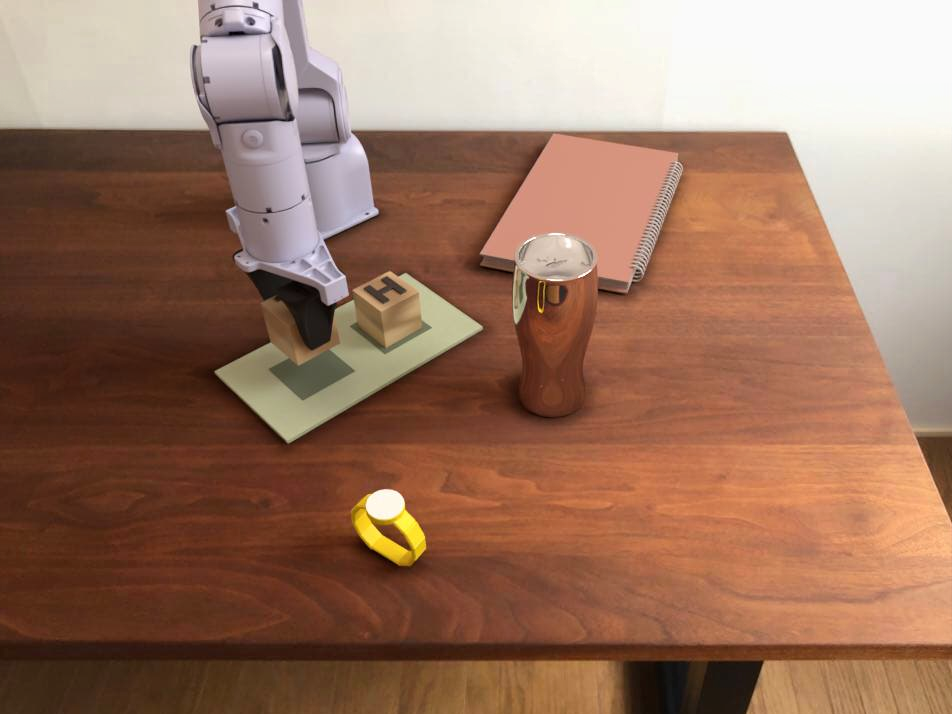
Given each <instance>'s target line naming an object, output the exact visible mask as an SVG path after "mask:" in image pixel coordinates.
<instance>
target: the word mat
mask: <svg viewBox="0 0 952 714" xmlns="http://www.w3.org/2000/svg"><path fill="white" fill-rule="evenodd" d="M398 277H399V278H401V279H402V280H403V281H405V282H406V283H408V284H409V285H410V286H412V287H413V288H415V289H416V290H418V291H419V299H420V309H421V318H422V328H421V329H419V330H418V331H416V332H414V333H412V334H410V335H409V336H407V337H405V338H403V339H402V340H400V341H398V342H396V343H394V344H393V345H391V346H389V347H387V348H385V347H384V346H382V345H381V344H380V343H379V342H377V341H376V340H375V339H374V338H372V337H371V336H370V335H368V334H367V333H366V332H365V331H363V330H362V329H361V328H359V327H358V322H357V316H356V310H355V304H354V299H352V300H350V301H348V302H346V303H344V304H342V305H340V306H338V307H337V308H335V312H334V313H335V318H336V324H337V329H338V334H339V339H340V344H338V345H336V346H334V347H333V348H331V349H329V350H327V351H325V352H323V353H321V354H320V355H318V356H316V357H314V358H312V359H310V360H308V361H306V362H305V363H303V364H301V365H299V366H298V365H296V364H295V363H294V362H293V361H292V360H291V359H290V358H288V357H287V356H286V355H285V354H284V353H283V352H281V351H280V350H279V349H278V348H277V347H276V346H275V345H273V344H272V343H271V342H270V341H269V343H267V344H264V345H263V346H260V347H258V348H257V349H255V350H253V351H251V352H249V353H246V354H245V355H243V356H242V357H240V358H239V357H238V358H237V359H235V360H234V361H232V362H230V363H228V364H226V365H224V366H222V367H220V368H218V369H216V370H214V375H216V377H217V378H219V380H220V381H221V382H222V383H224V384H225V385H226V386H227V387H228V388H229V389H230V390H231V391H232V392H233V393H234V394H235V395H236V396H237V397H238V398H239V399H240V400H241V401H243V403H245V404H246V406H247V407H249V408H250V409H251V410H252V411H253V413H255V414H256V415H257V416H258V417H259V418H260V419H261V420H262V421H263V422H264V423H265V424H266V425H267V426H268V427H270V428H271V429H272V430H273V432H275V433H276V435H278V436H279V437H280V438H281V439H282V440H283V441H284V442H285V443H286V444H290V443H292V442H294V441H295V440H297V439H299V438H301V437H302V436H304V435H306V434H307V433H309V432H311V431H313V430H315V429H316V428H318V427H319V426H321V425H323V424H325V423H327V422H328V421H329V420H331V419H333V418H335V417H337V416H338V415H340V414H342V413H343V412H344V411H345V412H346V410H348V409H350V408H352V407H354V406H355V405H357V404H359V403H360V402H362V401H364V400H365V399H367V398H369V397H370V396H372V395H374V394H376V393H377V392H379V391H381V390H382V389H384V388H386V387H387V386H390V384H393V383H395V382H396V381H398V380H399V379H401V378H403V377H404V376H406V375H408V374H410V373H412V372H413V371H414V370H417V369H418V368H420V367H422V366H424V365H425V364H427V363H428V362H430V361H431V360H434V359H435V358H437V357H439V356H440V355H442V354H444V353H445V352H447V351H450V350H451V349H453V348H454V347H456V346H457V345H459V344H461V343H462V342H464V341H466V340H468V339H469V338H471V337H473V336H474V335H476V334H478V333H479V332H482V331H483V330H484V328H483V325H481V324H479V323H478V322H477V321H475V320H474V319H473V318H471V317H470V316H468V315H467V314H465V313H464V312H462V311H461V310H460V309H458V308H457V307H455V306H454V305H453V304H451V303H450V302H448V301H446V299H444V298H443V297H441V296H440V295H438V294H437V293H435V292H434V291H433V290H431V289H429V288H428V287H427V286H425V284H423V283H421V282H419V281H418V280H417V279H416V278H414V277H412V276H411V275H409V274H408V273H407V272H404V273H403V274H401V275H399V276H398Z"/></svg>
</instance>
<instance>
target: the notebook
mask: <svg viewBox="0 0 952 714" xmlns="http://www.w3.org/2000/svg"><path fill="white" fill-rule="evenodd" d="M678 159H679V152H674V151H669V150H661V149H654V148H648V147H642V146H637V145H629V144H625V143H624V144H623V143H618V142H612V141H611V142H610V141H605V140H604V141H603V140H598V139H593V138H586V137H579V136H573V135H568V134H561V133H553V134H552V135H551V137H550V139H549V140H548V142H547V143H546V144H545V146H544V148H543V149H542V152H541V153H540V155H539V157H538V158H537V160H536V161H535V163H534V164H533V166H532V168H531V169H530V171H529V173H528V174H527V176H526V178H525V179H524V181H523V183H522V184H521V186H520V187H519V189H518V191H517V192H516V194H515V196H514V197H513V199H512V200H511V201H510V204H509V205H508V206H507V209H506V210H505V212H504V214H503V215H502V217H500V220H499V222H498V223H497V225H496V227H494V230H493V231H492V233H491V235H490V236H489V238H488V240H487V241H486V242H485V244H484V246H483V248H482V249H481V251H480V253H479V256H481V257H483V258H482V260H481V262H480V264H479V266H480V267H486V268H491V269H496V270H501V271H506V272H511V273H513V270H514V253H515V250H516V248H517V247H518V245H519V244H520V243H521V242H523V241H524V240H526V239H527V238H529V237H532V236H534V235H537V234H542V233H549V232H560V233H568V234H572V235H576V236H578V237H581V238H583V239H585V240H586V241H588V242H589V243H590V244H591V245H592V246H593V247H594V248H595V250H596V252H597V255H598V261H597V268H598V290H599V289H600V290H604V291H609V292H615V293H619V294H624V295H628V293H629V290H630V287H631V285H632V282H633V283H638V282H640V281H642V280H643V278H644V276H645V272H646V270H647V267H648V265H649V262H650V259H651V257H652V254H653V251H654V248H655V246H656V244H657V241H658V238H659V235H660V233H661V231H662V227H663V224H664V222H665V219H666V216H667V214H668V212H669V208H670V206H671V204H672V201H673V198H674V195H675V193H676V190H677V187H678V185H679V182H680V179H681V177H682V173H683V171H684V167H683V165H682V164H681V162H679V161H678Z"/></svg>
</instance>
